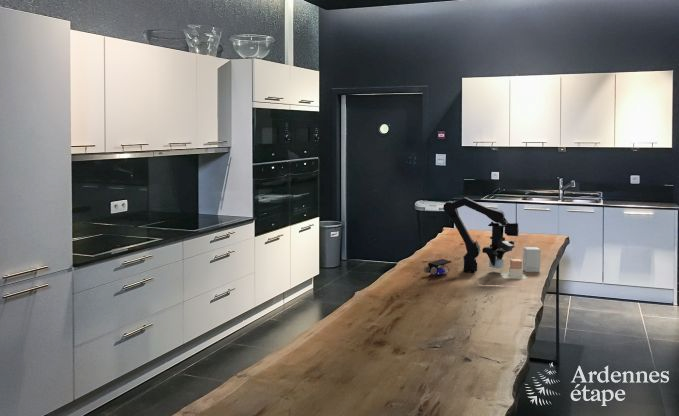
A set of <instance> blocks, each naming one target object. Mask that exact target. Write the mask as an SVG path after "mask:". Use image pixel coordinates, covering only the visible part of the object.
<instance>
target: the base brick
mask: <svg viewBox="0 0 679 416" xmlns="http://www.w3.org/2000/svg"><path fill="white" fill-rule="evenodd" d="M508 274H509V276H510V277H523V274H524V270H523V269H511V267H510V265H509V266H508Z"/></svg>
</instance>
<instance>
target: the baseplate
mask: <svg viewBox="0 0 679 416" xmlns="http://www.w3.org/2000/svg"><path fill="white" fill-rule="evenodd" d="M500 276H501V277H502V279H519V280H528V277H527V276H526V274H524V273H523V277H510V276H509V273H500Z"/></svg>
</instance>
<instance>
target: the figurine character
mask: <svg viewBox="0 0 679 416" xmlns="http://www.w3.org/2000/svg"><path fill="white" fill-rule="evenodd" d="M452 261H453V260H448V259H445V258H444V259H443V258H441V259H436V260H433V261H430V262H428V264H427V265H425V266H424V267H423V269H422V270H423V272H424V273H426V274H428V273H429V274H428V275H427V276H428V277H432V278H435V277H438V276H439V275H441V274H442V275H446V274H448V273H449V271H450V269H449V268H450V266H449V265H447V264H450V263H452Z"/></svg>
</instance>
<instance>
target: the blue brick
mask: <svg viewBox="0 0 679 416" xmlns="http://www.w3.org/2000/svg"><path fill="white" fill-rule="evenodd" d="M488 263H489V268H493V269H497V270H498V269H502V268H504V259H503V258H502V259H498V258H496V260H495V266H492V264H491V261H490V260H489V262H488Z"/></svg>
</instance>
